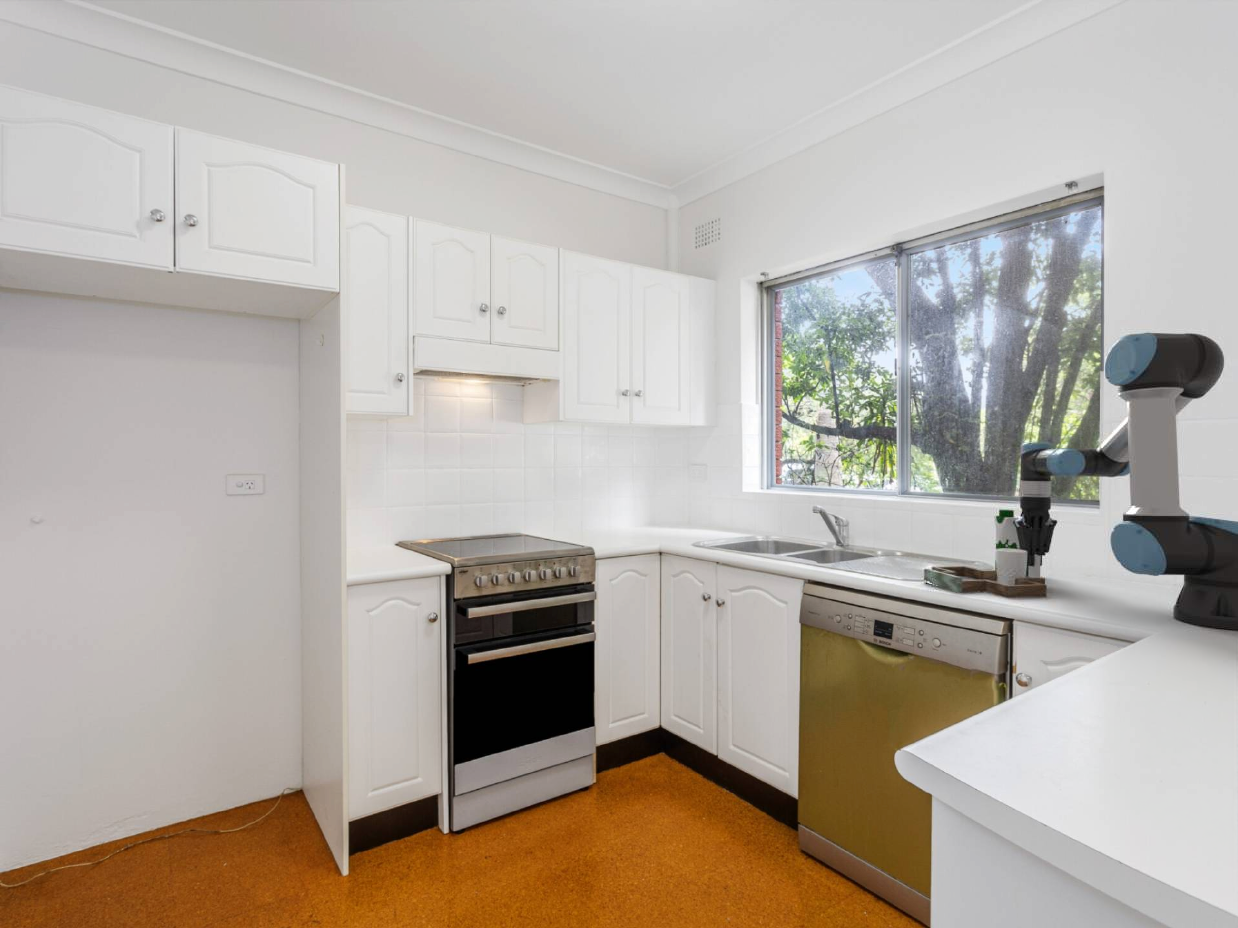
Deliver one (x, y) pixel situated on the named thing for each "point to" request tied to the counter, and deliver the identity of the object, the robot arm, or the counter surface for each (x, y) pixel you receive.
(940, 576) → the wooden tray
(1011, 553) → the white cup
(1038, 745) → the counter surface
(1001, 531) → the milk carton
